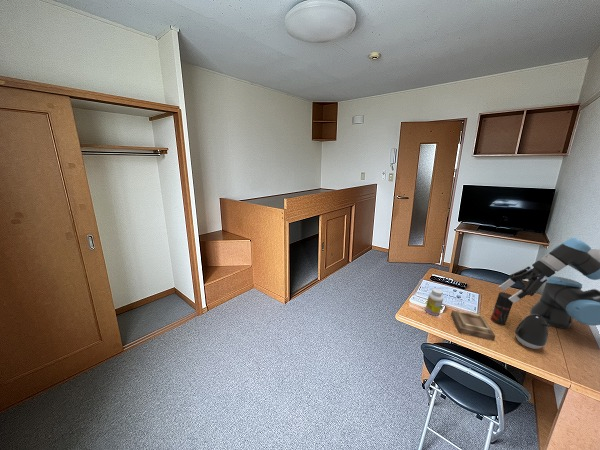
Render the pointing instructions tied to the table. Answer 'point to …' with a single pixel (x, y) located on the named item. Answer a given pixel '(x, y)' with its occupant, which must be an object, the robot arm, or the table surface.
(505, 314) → the deodorant
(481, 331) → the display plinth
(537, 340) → the black rounded dome
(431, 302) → the supplement bottle
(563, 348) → the table surface
